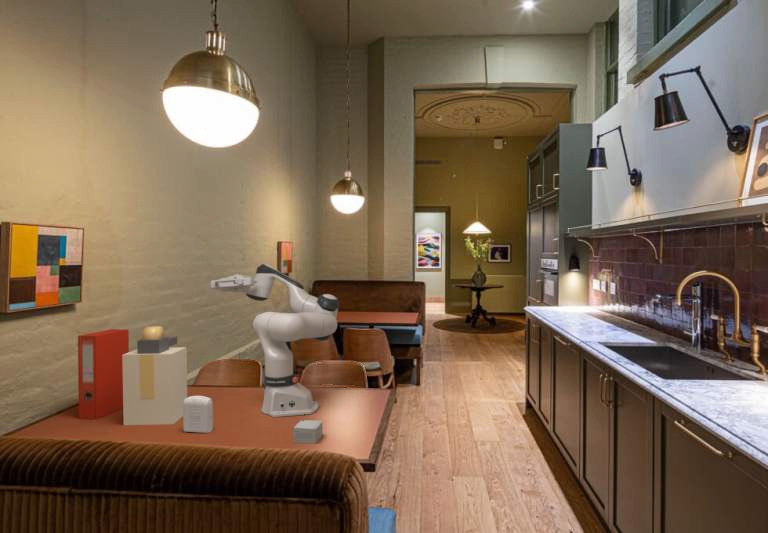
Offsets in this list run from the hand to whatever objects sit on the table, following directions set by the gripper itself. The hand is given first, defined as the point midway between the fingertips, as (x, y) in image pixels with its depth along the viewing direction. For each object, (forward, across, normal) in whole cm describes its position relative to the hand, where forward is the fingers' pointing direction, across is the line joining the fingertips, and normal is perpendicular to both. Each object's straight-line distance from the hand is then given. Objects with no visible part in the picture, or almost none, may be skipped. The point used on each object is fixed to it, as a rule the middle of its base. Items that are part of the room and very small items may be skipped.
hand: (225, 282), depth 208 cm
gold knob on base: (+29, +13, -26) cm, 41 cm away
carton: (+32, +14, -52) cm, 63 cm away
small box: (+46, -50, -58) cm, 89 cm away
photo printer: (+42, -9, -55) cm, 70 cm away
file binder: (+26, +40, -50) cm, 69 cm away
